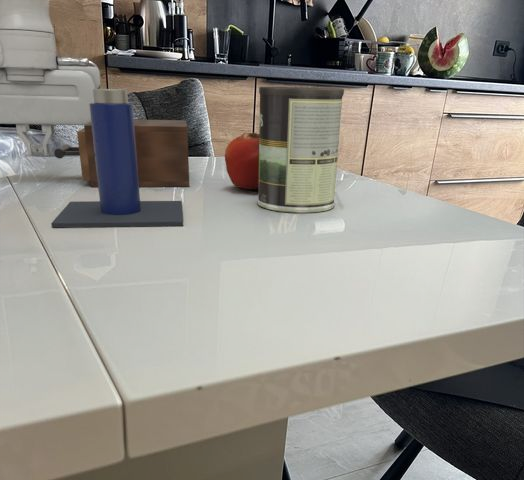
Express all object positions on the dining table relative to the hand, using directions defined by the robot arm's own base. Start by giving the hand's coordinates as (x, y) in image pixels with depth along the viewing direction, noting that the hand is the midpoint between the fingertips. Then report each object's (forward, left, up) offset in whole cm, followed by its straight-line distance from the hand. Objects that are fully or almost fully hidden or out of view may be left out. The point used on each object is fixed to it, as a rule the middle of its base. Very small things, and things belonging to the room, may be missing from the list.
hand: (39, 155), depth 85 cm
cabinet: (+16, 0, -4) cm, 16 cm away
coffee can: (+37, -22, -4) cm, 43 cm away
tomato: (+33, -10, -4) cm, 34 cm away
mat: (+15, -27, -4) cm, 31 cm away
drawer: (+12, 0, -3) cm, 12 cm away
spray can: (+15, -27, -3) cm, 31 cm away
